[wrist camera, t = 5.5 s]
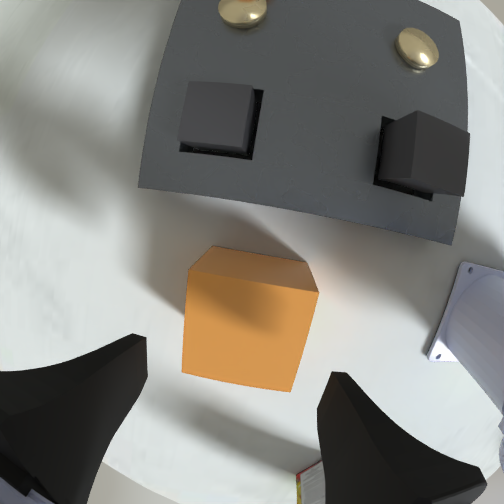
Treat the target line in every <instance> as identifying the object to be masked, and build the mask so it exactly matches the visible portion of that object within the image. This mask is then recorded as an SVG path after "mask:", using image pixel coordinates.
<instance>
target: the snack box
mask: <svg viewBox="0 0 504 504" xmlns="http://www.w3.org/2000/svg"><path fill="white" fill-rule="evenodd" d="M296 484H297V504H325V476H324V469H323V462H322V460H320V461H319V462H317V463H316V464H314V465H312V466H311V467H309V468H307V469H306V470H304V471H302V472H301V473H299V474H297V475H296Z"/></svg>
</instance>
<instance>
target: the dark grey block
mask: <svg viewBox="0 0 504 504" xmlns="http://www.w3.org/2000/svg"><path fill="white" fill-rule="evenodd" d="M257 109H258V107H257V102H256V98H255V94H254V90H253V86H252V85H245V84H234V83H221V82H203V81H189V83H188V87H187V92H186V96H185V101H184V106H183V111H182V116H181V121H180V127H179V132H178V138H177V141H179V142H182V143H184V144H186V145H189V146H191V147H193V148H196V149H198V150H203V151H212V152H221V153H229V154H236V155H244V156H250V151H251V145H252V139H253V133H254V127H255V121H256V115H257Z"/></svg>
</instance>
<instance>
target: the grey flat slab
mask: <svg viewBox="0 0 504 504" xmlns="http://www.w3.org/2000/svg"><path fill="white" fill-rule="evenodd" d="M189 81H203V82H221V83H234V84H245V85H252V86H253V90H254V94H255V98H256V102H261V103H262V104H261V110H260V116H259V122H258V128H257V134H256V140H255V146H254V152H253V158H252V160H245V159H238V158H231V157H223V156H215V155H206V154H197V153H193V150H194V148H193V147H191V146H189V145H186V144H184V143H182V142H179V141H177V138H178V132H179V127H180V121H181V116H182V111H183V106H184V101H185V96H186V92H187V87H188V83H189ZM416 110H419V111H421V112H424V113H426V114H429V115H431V116H434V117H436V118H438V119H441V120H443V121H445V122H447V123H450V124H452V125H454V126H456V127H458V128H460V129H462V130H464V131H466V132H467V128H468V95H467V76H466V64H465V55H464V47H463V39H462V33H461V27H460V22H459V21H458V20H457V19H455V18H453V17H451V16H449V15H448V14H446V13H444V12H442V11H440V10H438V9H436V8H434V7H432V6H430V5H427V4H425V3H423V2H421V1H419V0H181V3H180V6H179V9H178V11H177V14H176V17H175V20H174V23H173V26H172V29H171V32H170V36H169V39H168V42H167V45H166V49H165V52H164V56H163V60H162V63H161V67H160V71H159V75H158V79H157V83H156V87H155V91H154V96H153V100H152V105H151V110H150V114H149V119H148V125H147V130H146V136H145V142H144V148H143V154H142V161H141V168H140V175H139V183H138V188H147V189H156V190H164V191H172V192H180V193H187V194H194V195H202V196H209V197H215V198H222V199H229V200H235V201H242V202H248V203H254V204H260V205H266V206H272V207H277V208H283V209H289V210H294V211H300V212H305V213H310V214H315V215H320V216H326V217H331V218H336V219H340V220H345V221H350V222H355V223H360V224H364V225H369V226H373V227H378V228H382V229H387V230H391V231H395V232H400V233H404V234H408V235H412V236H416V237H420V238H424V239H428V240H432V241H436V242H440V243H444V244H448V245H452V241H453V237H454V232H455V228H456V223H457V218H458V212H459V207H460V201H461V196H453V195H444V194H435V193H425V192H421V191H417V190H414V195H413V196H412V195H409V194H405V193H402V192H398V191H395V190H391V189H387V188H383V187H380V186H376V185H373V180H374V173H375V167H376V160H377V153H378V145H379V137H380V128H381V129H384V127H385V126H386V125H388V124H390V123H392V122H394V121H396V120H398V119H400V118H402V117H404V116H406V115H408V114H410V113H412V112H414V111H416Z"/></svg>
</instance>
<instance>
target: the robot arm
mask: <svg viewBox="0 0 504 504" xmlns="http://www.w3.org/2000/svg"><path fill="white" fill-rule="evenodd" d="M469 268H470V271H469V272H468V270H469ZM438 354H439V355H438ZM437 355H438V356H437ZM427 358H428V360H429V361H431V362H452V361H459V362H460V363H461V364H462V365H463V366H464V368H465V369H466V370H467V371H468V372H469V373H470V375H471V376H472V377H473V378H474V379H475V381H476V382H477V383H478V384H479V385H480V387H481V388H482V389H483V390H484V391H485V393H486V394H487V395H488V396H489V398H490V399H491V400H492V401H493V403H494V404H495V405H496V407H497V408H498V409H499V410H500V412H501V413H502V414H503V418H502V420H501V422H500V424H499V425H498V427H499V428H500V430H501V431H502V433H503V434H504V271H501V270H497V269H493V268H489V267H485V266H482V265H478V264H474V263H470V262H462V263H461V264H460V266H459V270H458V273H457V276H456V280H455V283H454V286H453V289H452V292H451V296H450V298H449V301H448V304H447V307H446V310H445V313H444V315H443V318H442V321H441V323H440V326H439V328H438V331H437V333H436V336H435V338H434V340H433V343H432V345H431V347H430V350H429V352H428V354H427ZM147 377H148V372H147V344H146V337H143V336H140V335H136V334H133V333H132V334H130V335H127V336H125V337H123V338H121V339H119V340H117V341H114V342H112V343H110V344H108V345H106V346H104V347H101V348H99V349H97V350H95V351H92V352H90V353H87V354H85V355H82V356H80V357H77V358H74V359H72V360H69V361H66V362H62V363H59V364H55V365H51V366H47V367H42V368H36V369H29V370H22V371H0V504H87V501H88V498H89V494H90V491H91V488H92V485H93V482H94V479H95V477H96V474H97V472H98V469H99V467H100V464H101V462H102V459H103V457H104V455H105V453H106V450H107V448H108V446H109V444H110V442H111V440H112V438H113V436H114V435H115V433H116V431H117V430H118V428H119V427H120V425H121V424H122V422H123V420H124V419H125V417H126V416H127V414H128V413H129V411H130V410H131V408H132V407H133V405H134V403H135V402H136V400H137V399H138V397H139V395H140V393H141V391H142V389H143V387H144V384H145V382H146V380H147ZM317 430H318V437H319V443H320V450H321V456H322V462H323V469H324V476H325V504H471V503H472V502H473V501H475V500H476V499H477V498H478V497H479V496H480V495H481V494H482V493H483V491H484V490H485V488H486V486H487V482H486V480H485V478H484V476H483V474H482V472H481V470H480V468H479V467H477V466H473V465H470V464H467V463H464V462H461V461H458V460H455V459H453V458H450V457H448V456H446V455H444V454H441V453H440V452H438V451H436V450H434V449H432V448H430V447H428V446H427V445H425V444H423V443H422V442H420V441H419V440H417V439H416V438H414V437H413V436H411V435H410V434H409V433H407V432H406V431H405V430H403V429H402V428H401V427H399V426H398V425H397V424H396V423H395V422H394V421H392V420H391V419H390V418H389V417H388V416H387V415H386V414H385V413H384V412H383V411H382V410H381V409H380V408H379V407H378V406H377V405H376V404H375V403H374V402H373V401H372V400H371V399H370V398H369V397H368V396H367V394H366V393H365V392H364V391H363V390H362V389H361V388H360V387H359V386H358V384H357V383H356V382H355V381H354V380H353V379H352V378H351V377H350V376H349V375H348V374H347V373H345V372H333V371H332V372H331V375H330V378H329V380H328V383H327V385H326V388H325V390H324V393H323V395H322V398H321V400H320V403H319V405H318V407H317ZM499 458H500V463H501V467H502V470H503V473H504V438H503V439H502V442H501V444H500V449H499Z"/></svg>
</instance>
